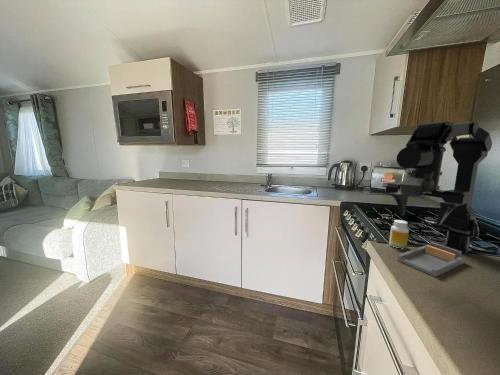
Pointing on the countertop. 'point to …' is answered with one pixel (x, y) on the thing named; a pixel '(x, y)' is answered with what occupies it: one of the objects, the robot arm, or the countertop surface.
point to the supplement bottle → (399, 234)
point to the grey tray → (431, 260)
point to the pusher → (439, 253)
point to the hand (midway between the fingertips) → (419, 220)
